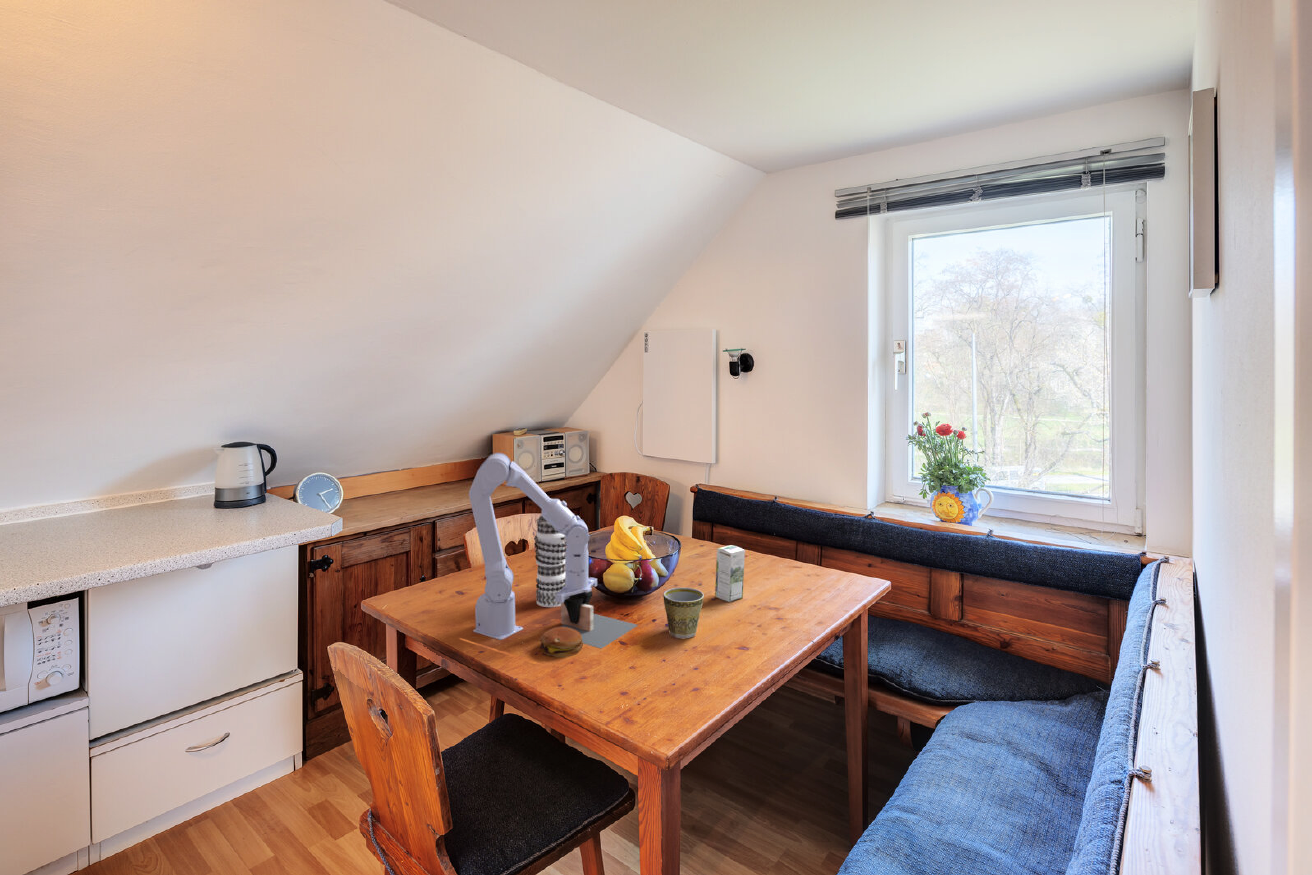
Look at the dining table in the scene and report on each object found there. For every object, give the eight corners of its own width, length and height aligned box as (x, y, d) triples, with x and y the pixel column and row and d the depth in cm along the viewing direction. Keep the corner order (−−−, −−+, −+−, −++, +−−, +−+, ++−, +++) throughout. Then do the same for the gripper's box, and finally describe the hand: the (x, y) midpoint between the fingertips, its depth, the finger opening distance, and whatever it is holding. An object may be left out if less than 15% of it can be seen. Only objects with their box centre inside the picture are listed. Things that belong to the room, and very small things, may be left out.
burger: (579, 640, 161) (579, 621, 161) (585, 657, 152) (585, 637, 152) (538, 644, 159) (538, 625, 158) (541, 662, 150) (541, 642, 149)
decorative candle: (557, 594, 191) (556, 508, 188) (574, 603, 184) (574, 515, 181) (528, 601, 186) (527, 513, 182) (545, 611, 178) (545, 520, 175)
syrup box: (728, 592, 194) (729, 544, 192) (743, 598, 190) (745, 548, 188) (714, 596, 190) (715, 547, 189) (729, 603, 186) (731, 552, 184)
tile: (560, 623, 170) (560, 600, 169) (564, 621, 171) (564, 598, 170) (589, 631, 165) (589, 608, 164) (593, 629, 166) (593, 606, 166)
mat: (548, 634, 164) (548, 633, 164) (587, 613, 177) (587, 611, 177) (601, 650, 156) (601, 648, 156) (638, 626, 169) (638, 624, 169)
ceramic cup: (700, 643, 160) (700, 603, 159) (659, 639, 162) (659, 599, 161) (706, 622, 172) (707, 585, 171) (668, 618, 174) (669, 582, 173)
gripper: (571, 580, 158) (571, 634, 160) (606, 563, 170) (606, 615, 172) (548, 574, 161) (548, 628, 163) (584, 559, 174) (584, 609, 175)
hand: (576, 621), depth 168 cm, fingers closed on tile, 2 cm apart
